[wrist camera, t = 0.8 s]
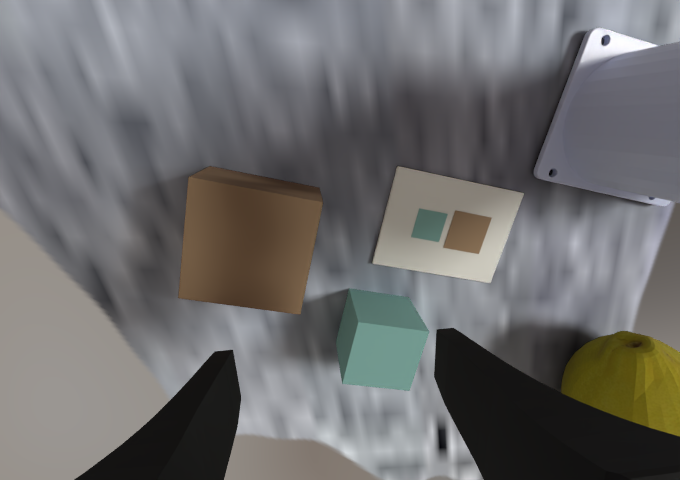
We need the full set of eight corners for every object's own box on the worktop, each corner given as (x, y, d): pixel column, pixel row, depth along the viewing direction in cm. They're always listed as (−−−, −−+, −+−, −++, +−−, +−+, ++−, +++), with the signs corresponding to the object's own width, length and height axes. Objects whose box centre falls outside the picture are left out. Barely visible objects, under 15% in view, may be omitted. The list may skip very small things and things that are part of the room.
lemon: (629, 406, 28) (749, 510, 20) (535, 427, 28) (622, 541, 20) (644, 286, 24) (797, 361, 17) (537, 310, 24) (643, 396, 17)
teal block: (408, 296, 23) (429, 331, 19) (392, 348, 24) (409, 390, 20) (348, 287, 22) (358, 322, 18) (335, 341, 23) (342, 383, 20)
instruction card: (522, 192, 21) (524, 193, 21) (488, 281, 23) (490, 283, 23) (397, 165, 20) (398, 166, 20) (372, 262, 22) (372, 263, 21)
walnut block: (319, 187, 20) (323, 202, 16) (300, 281, 22) (300, 314, 18) (210, 165, 19) (188, 176, 15) (200, 266, 21) (178, 298, 17)
